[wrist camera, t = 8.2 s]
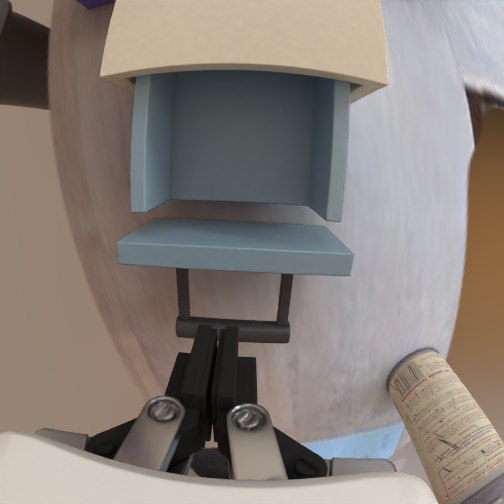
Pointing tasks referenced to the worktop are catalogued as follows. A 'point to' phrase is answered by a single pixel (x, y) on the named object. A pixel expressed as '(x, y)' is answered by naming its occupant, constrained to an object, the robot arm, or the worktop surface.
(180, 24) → the cabinet
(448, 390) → the aerosol can
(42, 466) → the robot arm
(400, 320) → the worktop surface
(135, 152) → the drawer
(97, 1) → the purple cube
